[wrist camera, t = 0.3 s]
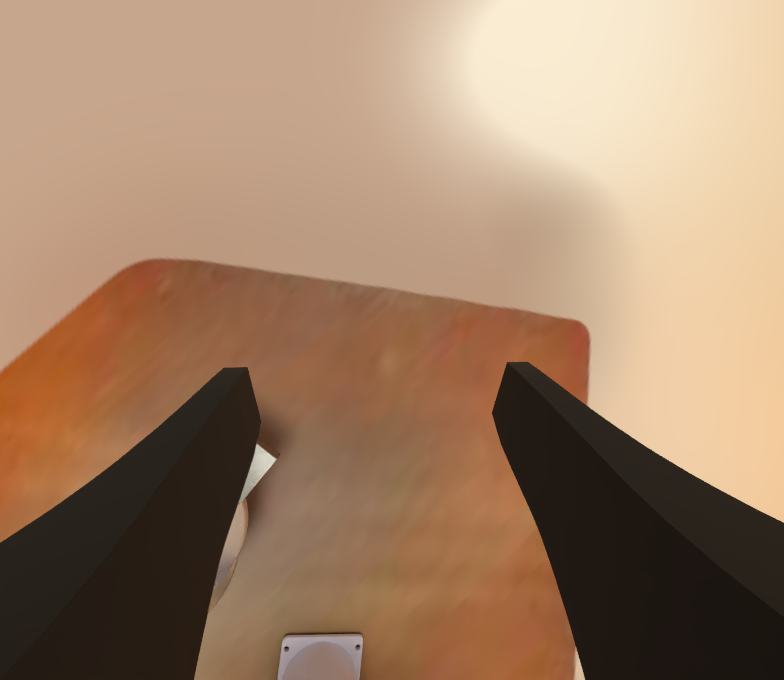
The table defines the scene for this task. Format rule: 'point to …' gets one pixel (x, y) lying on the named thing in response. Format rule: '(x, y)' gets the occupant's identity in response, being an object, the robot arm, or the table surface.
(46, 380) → the table surface
